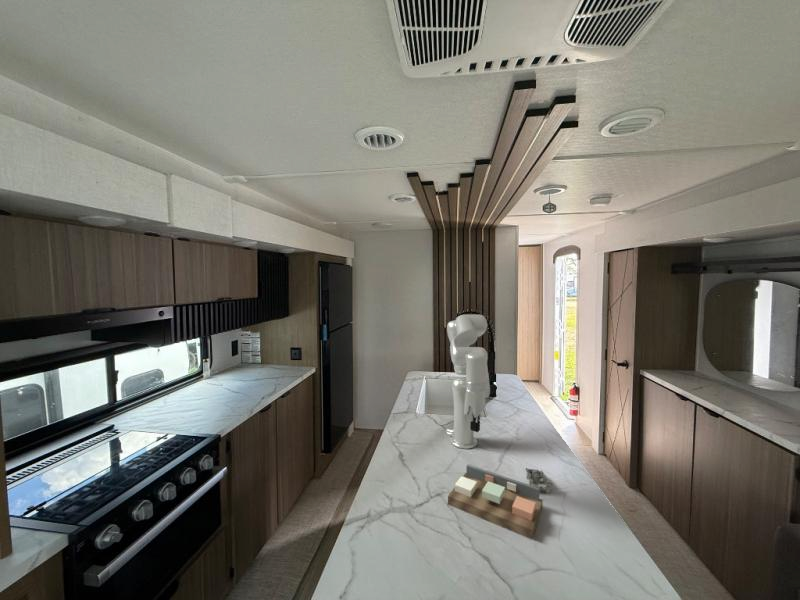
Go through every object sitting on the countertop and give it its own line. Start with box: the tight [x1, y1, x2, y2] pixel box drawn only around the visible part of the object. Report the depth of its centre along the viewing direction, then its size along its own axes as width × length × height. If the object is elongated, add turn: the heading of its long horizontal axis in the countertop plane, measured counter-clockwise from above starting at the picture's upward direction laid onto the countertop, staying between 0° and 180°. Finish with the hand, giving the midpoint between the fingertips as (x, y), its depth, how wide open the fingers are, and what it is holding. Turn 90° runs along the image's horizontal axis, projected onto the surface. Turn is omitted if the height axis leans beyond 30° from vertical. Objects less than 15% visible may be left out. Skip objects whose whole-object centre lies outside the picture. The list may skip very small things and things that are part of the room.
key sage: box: [482, 481, 505, 504], centre depth 111 cm, size 6×6×2 cm
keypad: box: [447, 464, 544, 540], centre depth 112 cm, size 28×16×7 cm, turn 56°
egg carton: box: [525, 467, 553, 494], centre depth 124 cm, size 11×8×4 cm
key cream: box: [454, 475, 477, 497], centre depth 117 cm, size 6×6×2 cm
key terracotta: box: [512, 496, 536, 521], centre depth 105 cm, size 6×6×2 cm
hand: (475, 430), depth 126 cm, fingers closed
